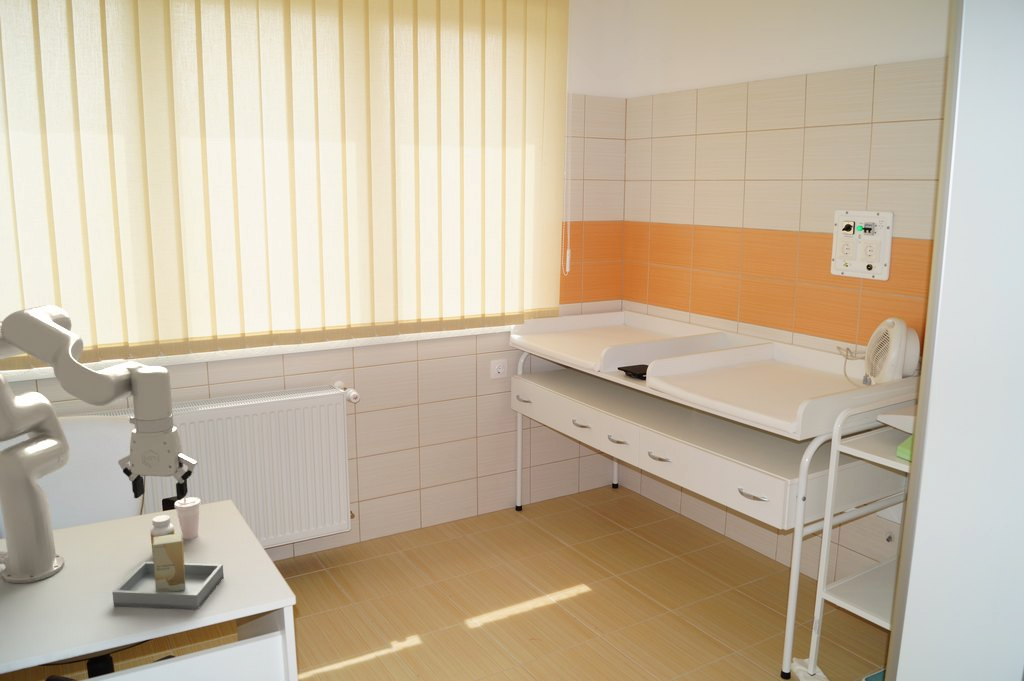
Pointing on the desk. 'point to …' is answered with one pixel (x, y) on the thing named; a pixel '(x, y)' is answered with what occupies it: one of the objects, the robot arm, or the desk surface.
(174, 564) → the skincare box
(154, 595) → the tray
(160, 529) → the supplement bottle
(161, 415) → the robot arm
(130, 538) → the desk surface
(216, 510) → the desk surface
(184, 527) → the smoothie
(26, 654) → the desk surface
